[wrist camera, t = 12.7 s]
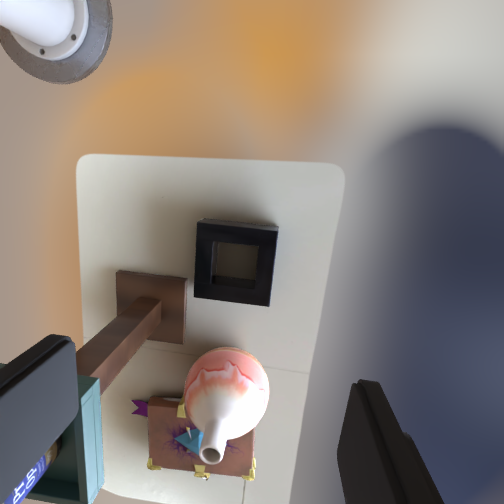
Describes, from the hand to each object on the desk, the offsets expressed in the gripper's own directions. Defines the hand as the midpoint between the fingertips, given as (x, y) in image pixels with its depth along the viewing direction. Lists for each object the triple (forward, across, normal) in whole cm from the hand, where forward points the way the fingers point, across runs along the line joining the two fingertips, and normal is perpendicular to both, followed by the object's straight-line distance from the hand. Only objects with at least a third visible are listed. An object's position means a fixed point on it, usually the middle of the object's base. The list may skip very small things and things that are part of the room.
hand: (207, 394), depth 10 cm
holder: (+38, +4, +7) cm, 39 cm away
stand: (+38, +18, +17) cm, 46 cm away
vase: (+38, +3, +27) cm, 47 cm away
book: (+38, +9, +43) cm, 58 cm away
